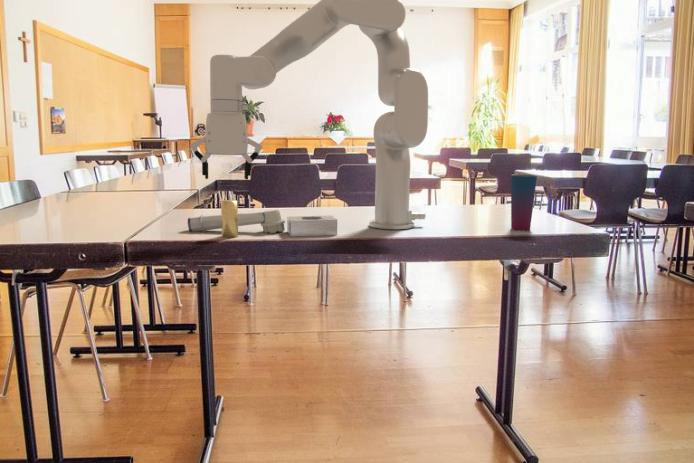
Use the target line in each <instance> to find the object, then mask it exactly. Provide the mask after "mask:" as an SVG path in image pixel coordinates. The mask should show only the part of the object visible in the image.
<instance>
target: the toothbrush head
mask: <svg viewBox="0 0 694 463" xmlns="http://www.w3.org/2000/svg"><path fill="white" fill-rule="evenodd" d="M259 224H260V226H261V227H262V230H263V233H266V234H267V233H269V234H275V233H277V232H279V233H281V232H284V231H286V230H285V224H286V220H285V219H284V218H283V219H282V215H281V211H280V210H279V209H277V208H275V209H274V208H273V209H267V210H264V211H260V212H246V213H238V227H243V226H250V225H252V226H253V225H259ZM187 229H188V230H189V232H192V233H193V232H203V233H204V232H206V231H212V230H219V229H221V230H222V217H221V214H216V215H215V214H214V215H204V214H201V215H200V216H195V217H188V219H187Z"/></svg>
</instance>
